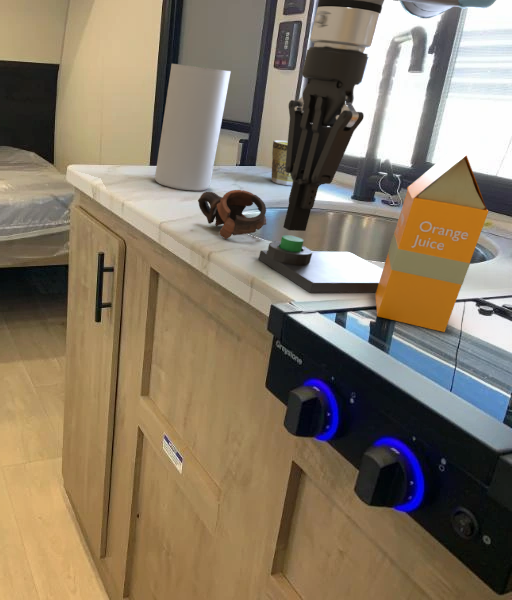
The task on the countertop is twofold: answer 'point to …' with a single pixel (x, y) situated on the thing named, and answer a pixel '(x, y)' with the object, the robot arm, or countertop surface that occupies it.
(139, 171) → the countertop surface
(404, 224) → the orange juice
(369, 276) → the scale
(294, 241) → the button
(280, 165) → the ceramic cup
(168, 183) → the cylinder vase
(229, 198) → the broken mug
